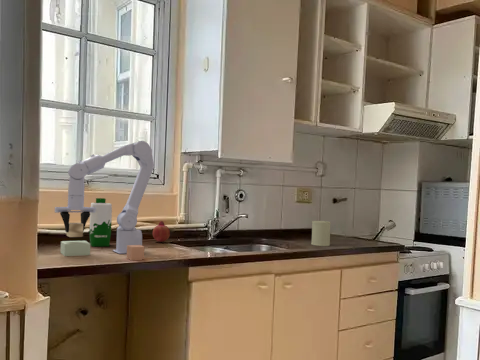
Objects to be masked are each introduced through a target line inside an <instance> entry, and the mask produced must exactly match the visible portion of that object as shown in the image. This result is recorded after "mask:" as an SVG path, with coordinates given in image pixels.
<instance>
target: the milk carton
mask: <svg viewBox="0 0 480 360" xmlns="http://www.w3.org/2000/svg"><path fill="white" fill-rule="evenodd" d="M106 200H107V199H106V198H104V197H102V198H101V197H97V198H96V197H95V202H91V203H90V207H95V208H96V213H92V212H90V217H89V226H88V227H89V233H88V234H89V243H90V247H92V248H93V247H95V248H96V247H97V248H98V247H102V248H103V247H110V243H111V236H112V221H113V220H112V219H113V215H112V214H113V207H112V206H113V205H112V203H110V202H107V201H106Z"/></svg>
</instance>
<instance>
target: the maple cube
mask: <svg viewBox="0 0 480 360" xmlns="http://www.w3.org/2000/svg"><path fill="white" fill-rule="evenodd" d="M65 235H66V236H67V237H69V238H82V237H84V232H83V224H82V223H81V222H69V232H66V234H65Z"/></svg>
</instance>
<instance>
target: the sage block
mask: <svg viewBox="0 0 480 360" xmlns="http://www.w3.org/2000/svg"><path fill="white" fill-rule="evenodd" d="M60 254H61V255H63V256H64V257H72V256H73V257H75V256H77V257H78V256H91V245H90V242H88V241H87V240H62V241H60Z"/></svg>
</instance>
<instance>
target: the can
mask: <svg viewBox="0 0 480 360" xmlns="http://www.w3.org/2000/svg"><path fill="white" fill-rule="evenodd" d="M311 223H312V224H311V243H310V244H311V245H313V246H317V247H319V246H320V247H328V246H329V247H330V246H331V243H330V241H331V224H332V223H331V221H327V220H312V221H311Z"/></svg>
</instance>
